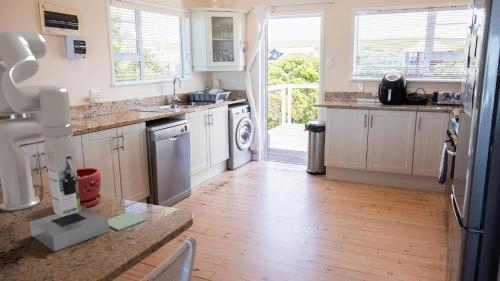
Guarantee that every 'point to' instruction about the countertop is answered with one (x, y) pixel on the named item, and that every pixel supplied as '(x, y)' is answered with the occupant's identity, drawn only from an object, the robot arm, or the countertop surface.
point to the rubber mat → (125, 221)
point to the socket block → (69, 228)
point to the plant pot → (89, 186)
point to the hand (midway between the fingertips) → (64, 190)
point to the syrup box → (60, 201)
